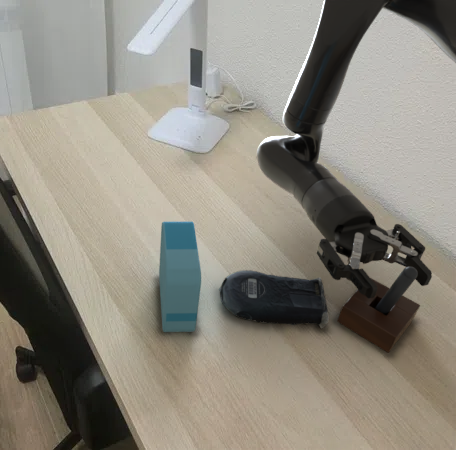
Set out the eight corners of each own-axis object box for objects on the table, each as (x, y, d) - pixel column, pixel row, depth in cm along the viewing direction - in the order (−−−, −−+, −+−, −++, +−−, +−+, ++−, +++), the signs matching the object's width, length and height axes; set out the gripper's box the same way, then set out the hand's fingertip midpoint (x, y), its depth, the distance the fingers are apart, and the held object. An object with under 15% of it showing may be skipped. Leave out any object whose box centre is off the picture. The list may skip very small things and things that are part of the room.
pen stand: (362, 292, 85) (368, 276, 83) (412, 320, 81) (420, 304, 79) (336, 321, 80) (342, 305, 78) (388, 353, 76) (396, 337, 74)
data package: (194, 336, 77) (202, 277, 70) (162, 337, 77) (166, 277, 69) (187, 275, 87) (193, 216, 79) (158, 275, 86) (161, 216, 79)
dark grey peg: (371, 313, 82) (409, 261, 72) (381, 320, 81) (422, 269, 71) (365, 320, 81) (403, 269, 71) (376, 328, 80) (416, 277, 70)
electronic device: (312, 289, 87) (219, 272, 86) (325, 269, 83) (228, 250, 82) (316, 341, 81) (217, 323, 80) (331, 322, 77) (226, 302, 76)
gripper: (300, 201, 81) (363, 278, 69) (383, 186, 85) (455, 257, 73) (291, 239, 86) (347, 317, 74) (369, 223, 89) (435, 295, 78)
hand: (401, 287), depth 74 cm, fingers open, 8 cm apart
